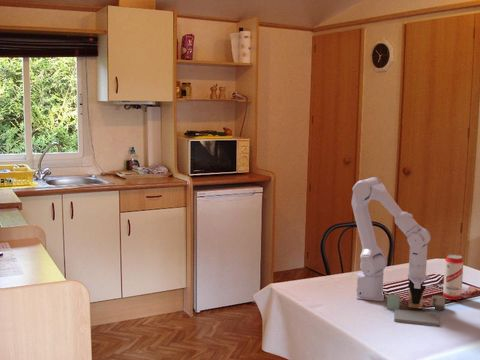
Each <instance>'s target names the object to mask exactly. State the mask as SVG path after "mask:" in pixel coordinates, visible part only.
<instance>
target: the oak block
mask: <svg viewBox="0 0 480 360" xmlns="http://www.w3.org/2000/svg"><path fill="white" fill-rule="evenodd" d="M408 290H409V291H408V308H413V309H418V308H417V307H421V308H422V309H423V308H424V307H423V304H424V292H423V293H422V296H421V299H420V303H419V304H413V303H412V296H411V291H410V289H409V288H408ZM421 308H420V309H421Z"/></svg>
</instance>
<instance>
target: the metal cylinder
mask: <svg viewBox="0 0 480 360" xmlns="http://www.w3.org/2000/svg"><path fill="white" fill-rule="evenodd" d="M430 304H431V305H432V306H434V307H435V309H434V310H433V311H436V312H443V311H445V309H446V307H445V306H446V299H445V297H444V296H443V295H437V294H436V295H432V296H431V303H430Z"/></svg>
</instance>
